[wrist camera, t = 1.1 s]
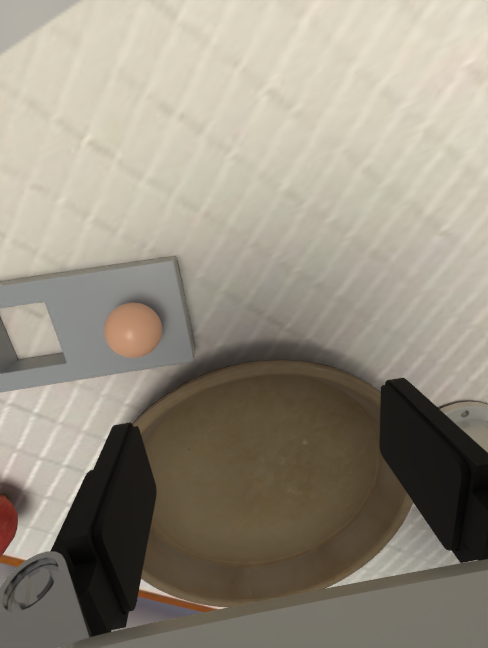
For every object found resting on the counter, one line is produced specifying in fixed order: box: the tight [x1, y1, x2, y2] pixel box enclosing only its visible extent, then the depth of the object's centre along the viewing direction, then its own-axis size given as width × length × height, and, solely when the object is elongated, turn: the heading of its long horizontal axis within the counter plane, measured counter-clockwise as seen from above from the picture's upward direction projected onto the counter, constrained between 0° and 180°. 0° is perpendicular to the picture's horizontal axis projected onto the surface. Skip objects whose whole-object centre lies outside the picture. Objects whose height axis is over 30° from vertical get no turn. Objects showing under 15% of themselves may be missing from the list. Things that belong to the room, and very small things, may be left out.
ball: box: [104, 302, 162, 358], centre depth 23 cm, size 4×4×4 cm
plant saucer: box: [133, 360, 413, 607], centre depth 33 cm, size 31×31×5 cm
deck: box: [0, 256, 195, 392], centre depth 26 cm, size 8×16×2 cm, turn 97°
